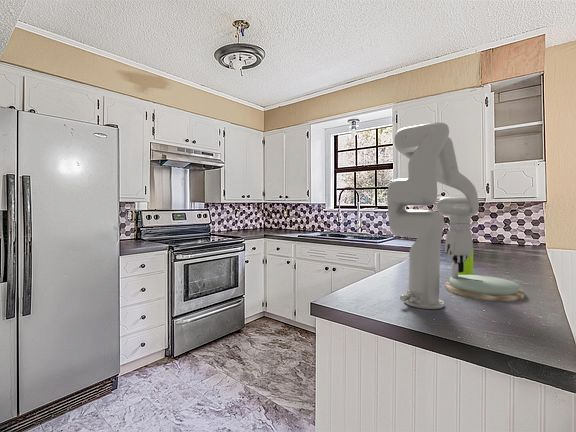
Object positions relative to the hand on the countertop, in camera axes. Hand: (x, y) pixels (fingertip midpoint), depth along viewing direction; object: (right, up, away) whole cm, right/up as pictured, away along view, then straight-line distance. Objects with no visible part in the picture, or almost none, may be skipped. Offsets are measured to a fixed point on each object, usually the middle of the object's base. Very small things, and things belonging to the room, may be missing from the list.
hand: (458, 271), depth 133 cm
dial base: (+5, -6, -9) cm, 12 cm away
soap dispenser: (+12, -5, +16) cm, 21 cm away
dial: (+5, -4, -9) cm, 11 cm away
